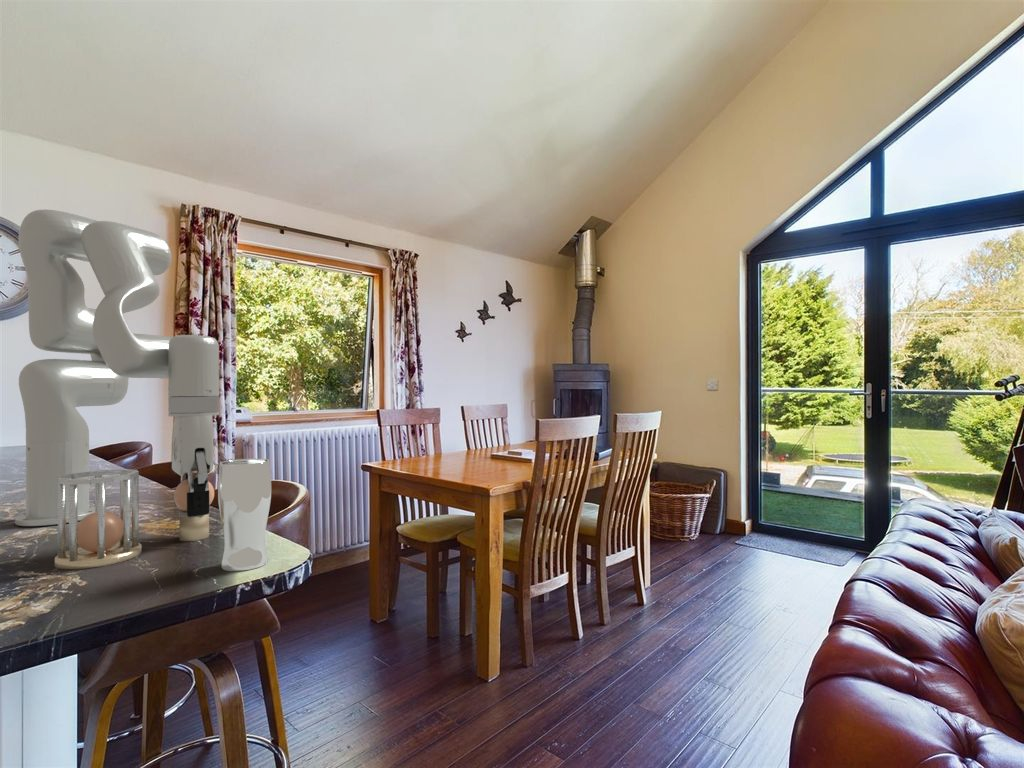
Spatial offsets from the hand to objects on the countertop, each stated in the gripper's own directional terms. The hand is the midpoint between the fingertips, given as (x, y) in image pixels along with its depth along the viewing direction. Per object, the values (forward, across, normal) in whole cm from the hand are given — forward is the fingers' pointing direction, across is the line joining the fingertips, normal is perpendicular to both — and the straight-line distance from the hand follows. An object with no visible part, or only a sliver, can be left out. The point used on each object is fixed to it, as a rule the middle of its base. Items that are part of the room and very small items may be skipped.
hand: (194, 510), depth 91 cm
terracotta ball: (-3, 0, 0) cm, 3 cm away
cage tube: (+5, +3, -13) cm, 14 cm away
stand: (+5, 0, 0) cm, 5 cm away
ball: (+1, +3, -13) cm, 13 cm away
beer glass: (+5, +21, +3) cm, 22 cm away
